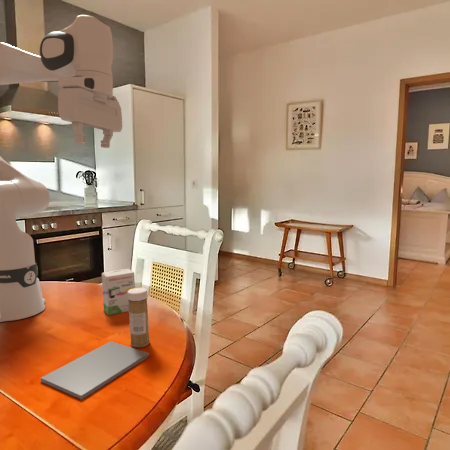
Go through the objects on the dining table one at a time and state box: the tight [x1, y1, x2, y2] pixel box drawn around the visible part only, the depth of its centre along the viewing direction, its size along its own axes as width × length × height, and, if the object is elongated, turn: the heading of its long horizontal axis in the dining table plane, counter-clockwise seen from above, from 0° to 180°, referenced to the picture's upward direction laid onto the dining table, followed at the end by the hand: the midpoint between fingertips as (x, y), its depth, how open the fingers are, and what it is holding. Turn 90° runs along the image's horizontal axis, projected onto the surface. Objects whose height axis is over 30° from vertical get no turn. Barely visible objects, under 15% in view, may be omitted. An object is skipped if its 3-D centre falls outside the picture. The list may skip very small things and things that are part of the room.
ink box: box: [101, 268, 136, 316], centre depth 109 cm, size 8×5×12 cm, turn 123°
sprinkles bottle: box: [127, 287, 151, 349], centre depth 87 cm, size 5×5×13 cm
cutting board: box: [40, 340, 150, 400], centre depth 77 cm, size 18×12×1 cm, turn 150°
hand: (93, 145), depth 91 cm, fingers open, 8 cm apart
